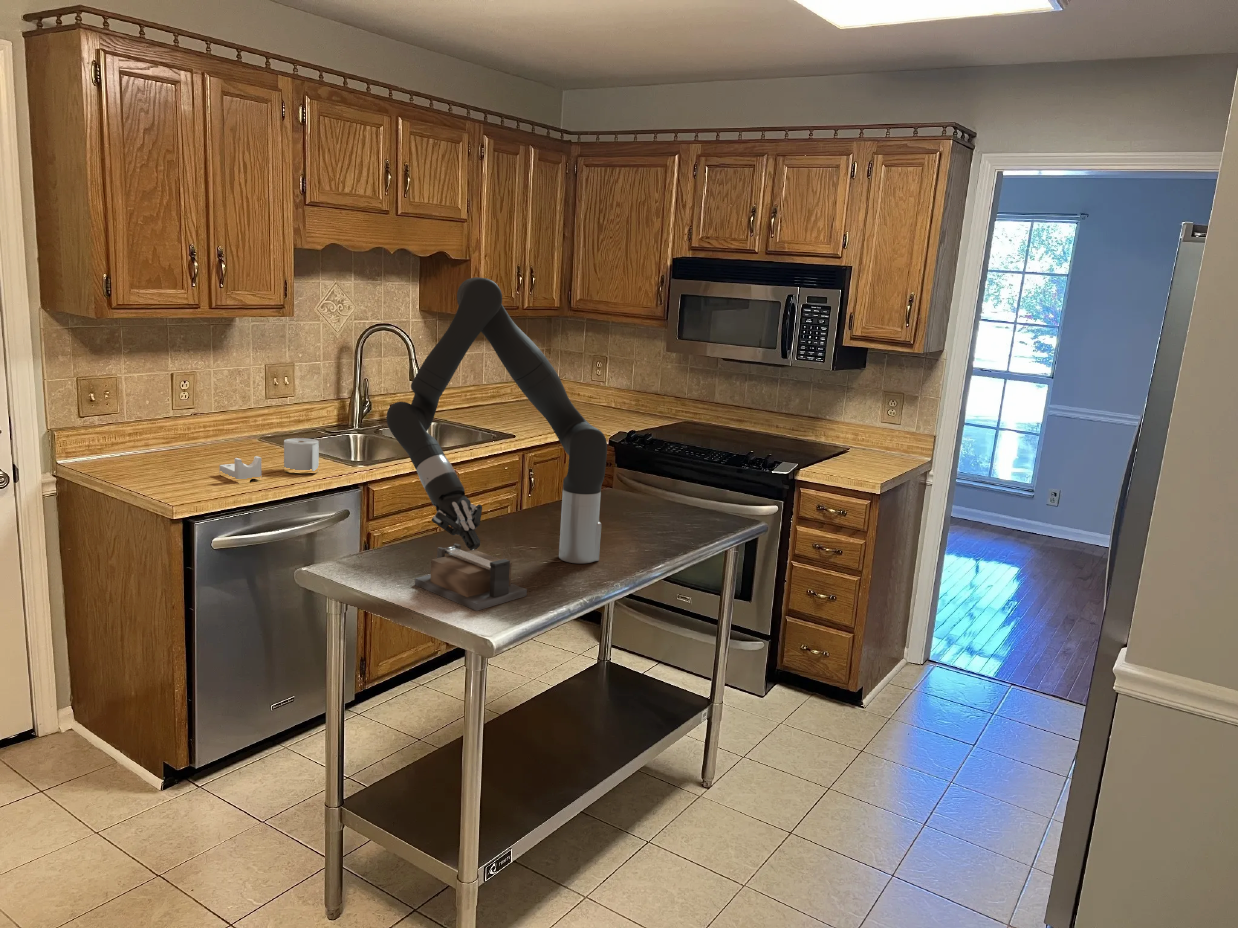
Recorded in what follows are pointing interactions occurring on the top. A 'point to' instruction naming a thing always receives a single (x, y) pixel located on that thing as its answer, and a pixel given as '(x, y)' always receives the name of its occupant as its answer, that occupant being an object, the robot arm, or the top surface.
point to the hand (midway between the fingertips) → (475, 547)
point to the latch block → (471, 580)
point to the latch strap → (468, 557)
